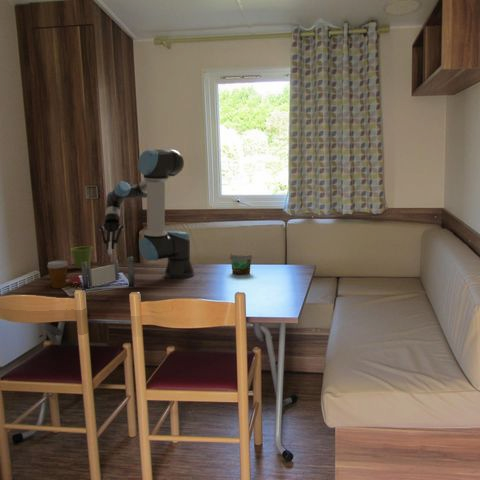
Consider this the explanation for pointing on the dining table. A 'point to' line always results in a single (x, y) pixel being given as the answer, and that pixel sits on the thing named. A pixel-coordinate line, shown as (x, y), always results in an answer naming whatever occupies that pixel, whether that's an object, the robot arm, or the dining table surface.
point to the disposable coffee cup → (58, 273)
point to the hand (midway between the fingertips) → (109, 253)
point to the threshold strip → (110, 287)
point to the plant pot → (82, 255)
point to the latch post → (131, 272)
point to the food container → (240, 264)
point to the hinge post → (84, 276)
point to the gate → (103, 274)
